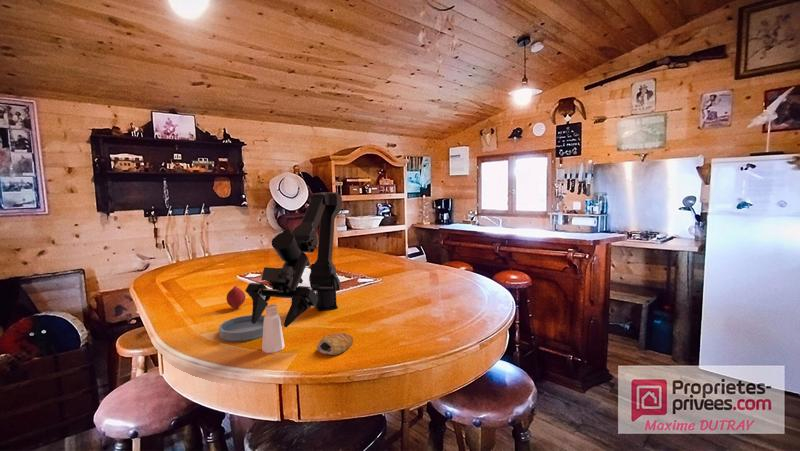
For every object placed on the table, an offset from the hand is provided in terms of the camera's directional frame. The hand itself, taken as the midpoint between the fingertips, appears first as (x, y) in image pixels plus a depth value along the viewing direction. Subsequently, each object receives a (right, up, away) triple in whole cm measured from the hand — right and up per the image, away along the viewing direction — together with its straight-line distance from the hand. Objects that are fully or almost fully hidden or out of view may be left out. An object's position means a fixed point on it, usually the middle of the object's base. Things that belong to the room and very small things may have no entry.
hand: (268, 324), depth 92 cm
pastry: (+16, -7, +2) cm, 18 cm away
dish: (-11, -6, +13) cm, 18 cm away
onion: (-23, -4, +34) cm, 41 cm away
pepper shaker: (0, -7, +2) cm, 7 cm away
